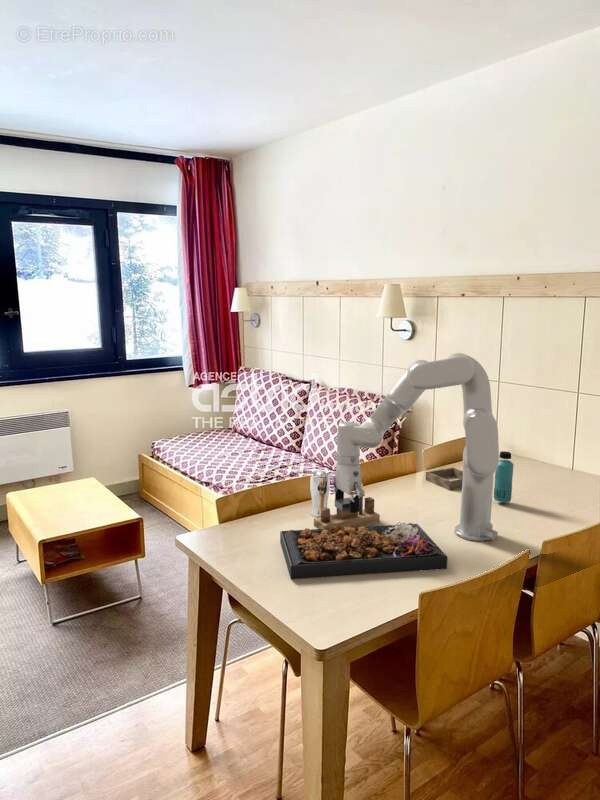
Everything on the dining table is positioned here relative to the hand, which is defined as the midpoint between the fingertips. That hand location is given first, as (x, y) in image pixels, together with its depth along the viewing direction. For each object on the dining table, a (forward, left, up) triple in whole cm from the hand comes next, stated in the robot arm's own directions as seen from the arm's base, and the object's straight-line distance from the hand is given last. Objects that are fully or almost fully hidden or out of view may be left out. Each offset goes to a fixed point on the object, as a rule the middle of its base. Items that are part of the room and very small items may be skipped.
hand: (346, 507), depth 198 cm
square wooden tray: (+19, -63, -6) cm, 66 cm away
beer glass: (+12, +4, -6) cm, 14 cm away
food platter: (-23, +9, -7) cm, 25 cm away
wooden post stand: (0, 0, -6) cm, 6 cm away
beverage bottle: (-9, -63, -6) cm, 64 cm away
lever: (+3, -8, +4) cm, 9 cm away
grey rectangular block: (0, 0, 0) cm, 0 cm away
